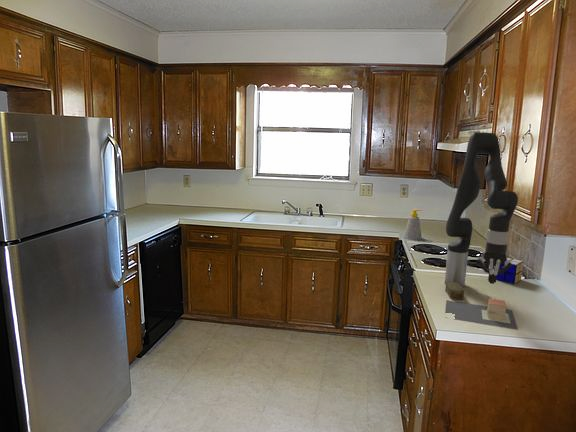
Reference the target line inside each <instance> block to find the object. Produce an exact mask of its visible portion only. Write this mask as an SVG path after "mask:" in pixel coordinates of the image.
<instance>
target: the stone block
mask: <svg viewBox="0 0 576 432" xmlns="http://www.w3.org/2000/svg"><path fill="white" fill-rule="evenodd" d="M445 292H446V294H447V295H448V298H449V299H450V300H454V301H455V300H461V301H462V300H464V297H465V290H464V287H461V286H460V285H459V284H458V283H457V282H448V283H446V284H445Z"/></svg>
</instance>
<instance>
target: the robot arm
mask: <svg viewBox="0 0 576 432" xmlns="http://www.w3.org/2000/svg"><path fill="white" fill-rule="evenodd" d="M477 155H488V156H489V157H490V159H489V161H488V163H487V165H486V167H485V169H484V178H485V181H486V185H487V197H486V203H487V205H488V207H489V208H490V209H494V210H501V212H500V213H496V214H495V213H494V214H492V215H490V218H489V223H488V224H489V225H488V231H487V234H486V243H485V249H484V250H485V251H484V253H483V255H482V256H481V257H478V258H477V259H476V260H477V263H478V265H480V267H481V269H482V270H483V272H484V273H487V274H488V277H487V278H488V279H487V281H488V282H489V284H493V285H494V284H495V283H496V282H497V280H496V279H497V275H498V274H503V273H504V272H505V271H506V270H507V269H509V268H510V267H511V266H512V263H511V262H509V261H508V260H507V258H508V257H507V250H508V243H509V231H510V223H511V219H512V217H513V215H514V212H515V210H516V208H517V206H518V204H519V196H518V195H517V193H516V192H515V191H513V190H506V189H507V186H508V182H507V181H508V180H507V177H506V175H505V172H504V169H503V165H502V155H501V147H500V141H499V138H498V136H497V134H496V133H493V132H482V131H474V132H472V133H471V134H470V135H469V138H468V142H467V145H466V152H465V158H464V162H463V167H462V171H461V175H460V178H459V181H458V186H457V188H456V193H455V196H454V197H455V198H454V201H453V204H452V208H451V210H450V213H449V215H448V218H447V221H446V226H445V232H446V235H447V236H448V237H451V238H457V239H456V240H455V241H451V242H449V243H448V245H447V253H446V262H445V263H446V264H445V265H446V266H445V273H444V284H445V285H446V283H448V282H457V283H458V284H459V285H460V286H461V287H462V288H464V287H465V285H466V275H467V266H468V258H469V257H468V256H469V248H470V246H471V240H472V235H473V222H472V220H471V219H470V218H469V217H462V215H463V213H464V212H465V211H466V209H467V208H468V207H470V206H471V205H472V203H474V202H475V201H476V199H477V198H478V196H479V193H480V190H481V187H482V178H481V176H480V174H479V172H478V168H477V166H476V158H477ZM485 262H486V264H487V265H488V267H487V266H486V264H485ZM504 262H505V266H503V267H502V268H501V269H500V270H498V269H499V267H500V266H501V265H502V264H503V263H504Z"/></svg>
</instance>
